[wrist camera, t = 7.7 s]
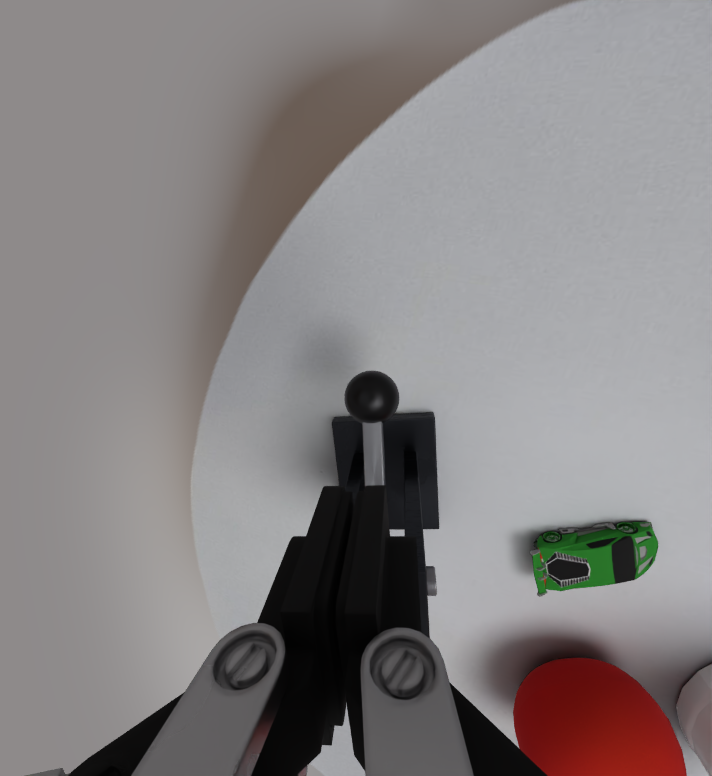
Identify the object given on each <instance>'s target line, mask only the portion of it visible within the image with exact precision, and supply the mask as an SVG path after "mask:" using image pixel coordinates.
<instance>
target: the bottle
mask: <svg viewBox="0 0 712 776" xmlns="http://www.w3.org/2000/svg"><path fill="white" fill-rule="evenodd" d="M676 708H677V713H678V718H679V723H680V727H681V729H682V731H683V733H684V736H685V738H686V740H687V742H688V744H689V746H690V747H691V749H692V750H693V751H694V752H695V753H696V755H697V756H698V757H699V759H700V761H701V762H702V764H703V766H704V767H705V769H706V771H707V772H708V774H709V776H712V664H710V665H709V666H707V667H705V668H703V669H701V670H699V671H698V672H697V673H696V674H695V675H694V676H693V677H692V678H691V679H690V680H689V681H688V682H687V684H686V685H685V686H684V687H683V688H682V691H681V693H680V696H679V699H678V702H677V705H676Z"/></svg>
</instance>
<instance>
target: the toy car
mask: <svg viewBox="0 0 712 776" xmlns="http://www.w3.org/2000/svg"><path fill="white" fill-rule="evenodd" d="M593 527H596V528H592V527H591V528H588V529H580V530H576V529H578V528H570V529H559V530H558V533H556V532H553V531H549V532H545V533H544V534H543V539H542V536H541V535H540V537H539V538H538V539H536V540H535V542H534V543H533V544H534V547H535V548H536V549H537V550H532V551H531V552H530V554H531V555H532V558H533V569H534V576H535V580H536V584H537V588H538V593H537V595H538V596H539V597H540V596H543V595H545V594H547V591H546V589H548V590H557V591H564V590H568V589H573V588H585V587H595V586H603V585H610V584H616V583H621V582H626V581H631V580H635V579H637V578H638V577H640V576H641V575H642V574H644V573H645V572H646V571H647V570H648V569H649V568H650V567H651V565H652V564H653V562H654V561H655V557H656V553H657V549H658V541H657V538H656V536H655V534H654V531H653V529H652V524H651V522H632V524H631V523H628V522H620V523H618V524H616V528H614V527H615V526H614V525H613V524H612V523H604V524H597V525H595V526H593Z"/></svg>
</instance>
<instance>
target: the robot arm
mask: <svg viewBox="0 0 712 776" xmlns="http://www.w3.org/2000/svg"><path fill="white" fill-rule="evenodd" d="M346 702H347V709H348V716H349V723H350V729H351V736H352V743H353V750H354V755H355V757H356V758H357V760H358V761H359V763H360V764H361V766H362V767H363V769H364V770H365V773H366V776H547V775H546V774H545V773H544V772H543V771H542V770H541V769H540V768H539V767H538V766H537V765H536V764H535V763H534V762H533V761H532V760H531V759H530V758H528V757H527V756H526V755H525V754H524V753H523V752H522V751H521V750H520V749H519V748H518V747H517V746H516V745H515V744H514V743H513V742H512V741H511V740H510V739H508V738H507V737H506V736H505V735H504V734H503V733H502V732H501V731H500V730H499V729H498V728H497V727H496V726H495V725H494V724H493V723H492V722H491V721H490V720H488V719H487V718H486V717H485V716H484V715H483V714H482V713H481V712H480V711H479V710H478V709H477V708H476V707H475V706H474V705H473V704H472V703H471V702H470V701H468V700H467V699H466V698H465V697H464V696H463V695H462V694H461V693H460V692H459V691H458V690H457V689H456V688H455V687H454V686H453V685H452V684H451V683H450V682H449V679H448V675H447V672H446V668H445V664H444V660H443V658H442V656H441V653H440V651H439V649H438V647H437V646H436V645H435V644H434V643H433V641H432V640H431V639H430V638H428V637H427V636H425V635H424V634H422V633H421V616H420V597H419V578H418V560H417V541H416V536H390V531H389V518H388V505H387V492H386V485H367V486H365V489H364V491H358V492H357V496H356V501H355V506H354V501H353V493H352V491H346V490H345V487H344V486H324V487H323V489H322V492H321V495H320V498H319V501H318V504H317V507H316V509H315V512H314V515H313V518H312V521H311V524H310V527H309V530H308V533H307V535H306V536H294V537H293V538H291V540H290V542H289V545H288V547H287V550H286V552H285V555H284V557H283V560H282V562H281V565H280V567H279V570H278V572H277V575H276V577H275V580H274V582H273V585H272V587H271V590H270V592H269V595H268V597H267V600H266V602H265V605H264V607H263V610H262V612H261V615H260V617H259V620H258V622H257V623H252V624H248V625H244V626H241V627H239V628H237V629H235V630H233V631H231V632H229V633H228V634H227V635H226V636H224V637H223V638H222V639H221V640H220V641H219V642H218V643H217V644H216V646H215V647H214V648H213V649H212V651H211V652H210V654H209V655H208V657H207V658H206V660H205V661H204V663H203V665H202V666H201V668H200V669H199V671H198V672H197V674H196V675H195V677H194V679H193V680H192V682H191V683H190V685H189V686H188V688H187V689H186V691H185V692H184V693H183V694H181V695H180V696H178V697H177V698H175V699H174V700H173V701H171V702H170V703H168V704H167V705H165V706H164V707H162V708H161V709H160V710H158V711H156V712H155V713H154V714H152V715H151V716H149V717H148V718H146V719H145V720H143V721H142V722H141V723H139V724H138V725H136V726H135V727H133V728H132V729H130V730H129V731H127V732H126V733H124V734H123V735H122V736H120V737H118V738H117V739H116V740H114V741H113V742H111V743H110V744H108V745H107V746H105V747H104V748H103V749H101V750H100V751H98V752H97V753H95V754H94V755H92V756H91V757H89V758H88V759H87V760H85V761H84V762H83V763H82V764H81V765H79V766H78V767H77V768H76V769H74V770H73V771H72V772H71V773H70V774H65V773H64V770H63V768H60V769H55V770H50V771H46V772H40V773H36V774H31V775H26V776H306V774H307V765H308V764H309V763H310V762H311V761H312V760H313V759H314V758H315V757H316V756H317V755H318V754H320V753H321V747H322V745H332V739H333V732H334V725H336V726H342V725H343V722H344V717H345V709H346Z"/></svg>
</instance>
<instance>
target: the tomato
mask: <svg viewBox="0 0 712 776" xmlns="http://www.w3.org/2000/svg"><path fill="white" fill-rule="evenodd" d="M513 715H514V727H515V732H516V737H517V741H518V744H519V748H520V750H521V751H522V752H523V753H524V754H525V755H526V756H527V757H528V758H530V759H531V760H532V761H533V762H534V763H535V764H536V765H537V766H538V767H539V768H540V769H541V770H542V771H543V772H544V773H545V774H546V775H547V776H686V767H685V763H684V758H683V753H682V749H681V747H680V744H679V742H678V740H677V738H676V735H675V733H674V731H673V728H672V726H671V723H670V721H669V719H668V718H667V717H666V715H665V714H664V712H663V711H662V709H661V708H660V707H659V705H658V704H657V703H656V701H655V700H654V699H653V698H652V697H651V695H650V694H649V693H648V692H647V691H646V690H645V689H644V688H643V687H642V686H641V685H640V684H639V683H638V682H637V681H636V680H635V679H634V678H632V677H631V676H629V675H628V674H627V673H625V672H624V671H622V670H621V669H619V668H618V667H616V666H614V665H612V664H609V663H606V662H603V661H600V660H596V659H590V658H566V659H557V660H553V661H550V662H547V663H545V664H543V665H541V666H539V667H537V668H535V669H534V670H533V671H531V672H530V673H529V674H528V675H527V676H526V677H525V679H524V680H523V682H522V684H521V685H520V687H519V689H518V691H517V693H516V698H515V703H514V710H513Z"/></svg>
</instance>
